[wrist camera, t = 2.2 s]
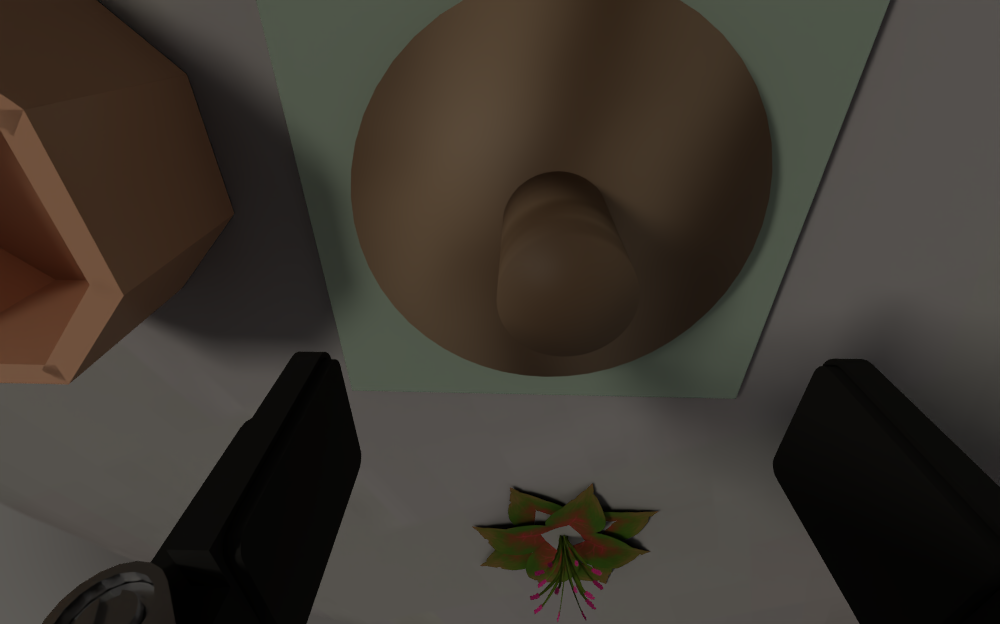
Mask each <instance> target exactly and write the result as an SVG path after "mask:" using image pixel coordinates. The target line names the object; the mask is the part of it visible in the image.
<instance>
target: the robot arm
mask: <svg viewBox="0 0 1000 624" xmlns="http://www.w3.org/2000/svg"><path fill="white" fill-rule="evenodd" d="M360 464H361V450H360V446H359V442H358V437H357V433H356V429H355V425H354V421H353V417H352V412H351V408H350V404H349V400H348V396H347V392H346V388H345V383H344V379H343V375H342V371H341V367H340V364H339V362H338V360H333V359H331V357H330V355H329V354H328V353H327V352H297V353H295V354H294V355H293V356H292V358H291V359H290V361H289V362H288V364H287V365H286V367H285V369H284V370H283V372H282V373H281V375H280V376H279V378H278V379H277V381H276V382H275V384H274V385H273V387H272V388H271V390H270V391H269V393H268V394H267V396H266V398H265V399H264V401H263V402H262V404H261V405H260V407H259V408H258V410H257V411H256V413H255V414H254V416H253V417H252V418H251V419H250V420H248V421H246V422H245V423H244V424H243V426H242V427H241V428H240V429H239V431H238V432H237V434H236V435H235V437H234V438H233V440H232V441H231V443H230V444H229V446H228V447H227V449H226V450H225V452H224V453H223V455H222V456H221V458H220V459H219V461H218V462H217V464H216V465H215V467H214V468H213V470H212V471H211V473H210V474H209V476H208V477H207V479H206V480H205V482H204V483H203V485H202V486H201V488H200V489H199V491H198V492H197V494H196V495H195V497H194V498H193V500H192V501H191V503H190V504H189V506H188V507H187V509H186V510H185V512H184V513H183V515H182V516H181V518H180V519H179V521H178V522H177V524H176V525H175V527H174V528H173V530H172V531H171V533H170V534H169V536H168V537H167V539H166V540H165V542H164V543H163V545H162V546H161V548H160V549H159V551H158V552H157V554H156V555H155V557H154V558H153V560H152V561H151V562H142V561H134V562H129V563H123V564H119V565H116V566H114V567H111V568H109V569H106V570H104V571H101V572H99V573H98V574H96V575H94V576H93V577H91V578H89V579H88V580H86V581H85V582H83V583H81V584H80V585H79V586H77V587H76V588H75V589H74V590H73V591H71V592H70V593H69V594H68V595H67V596H66V597H64V598H63V599H62V600H61V601H60V602H59V603H58V604H57V605H56V607H55V608H54V609H53V610H52V612H51V613H50V614H49V615H48V616H47V617H46V618H45V620H44V621H43V623H42V624H306V623H307V621H308V617H309V615H310V612H311V609H312V606H313V603H314V600H315V597H316V594H317V591H318V588H319V585H320V583H321V580H322V577H323V574H324V571H325V568H326V565H327V562H328V559H329V556H330V553H331V550H332V548H333V545H334V542H335V539H336V536H337V533H338V530H339V527H340V524H341V521H342V518H343V515H344V512H345V510H346V507H347V504H348V501H349V498H350V495H351V492H352V489H353V486H354V483H355V480H356V477H357V475H358V472H359V468H360ZM773 470H774V474H775V476H776V478H777V480H778V482H779V484H780V485H781V487H782V489H783V491H784V492H785V494H786V496H787V498H788V499H789V501H790V503H791V505H792V506H793V508H794V510H795V512H796V513H797V515H798V517H799V519H800V520H801V522H802V524H803V526H804V527H805V529H806V531H807V532H808V534H809V536H810V538H811V539H812V541H813V543H814V545H815V546H816V548H817V550H818V552H819V553H820V555H821V557H822V559H823V560H824V562H825V564H826V566H827V567H828V569H829V571H830V573H831V574H832V576H833V578H834V580H835V581H836V583H837V585H838V587H839V588H840V590H841V592H842V594H843V595H844V597H845V599H846V601H847V602H848V604H849V606H850V608H851V609H852V611H853V613H854V615H855V616H856V618H857V620H858V622H859V623H860V624H1000V487H999V486H998V485H997V484H996V483H995V482H994V481H993V480H992V479H991V478H990V477H989V476H988V475H987V474H985V473H984V472H983V471H982V470H981V469H980V468H979V467H978V466H977V465H976V464H975V463H974V462H973V461H972V460H971V459H970V458H969V457H968V456H967V455H966V454H965V453H964V452H963V451H962V450H961V449H960V448H959V447H957V446H956V445H955V444H954V443H953V442H952V441H951V440H950V439H949V438H948V437H947V436H946V435H945V434H944V433H943V432H942V431H941V430H940V429H939V428H938V427H937V426H936V425H935V424H934V423H933V422H932V421H930V420H929V419H928V418H927V417H926V416H925V415H924V414H923V413H922V412H921V411H920V410H919V409H918V408H917V407H916V406H915V405H914V404H913V403H912V402H911V401H910V400H909V399H908V398H907V397H906V396H905V395H904V394H902V393H901V392H900V391H899V390H898V389H897V388H896V387H895V386H894V385H893V384H892V383H891V382H890V381H889V380H888V379H887V378H886V377H885V376H884V375H883V374H882V373H881V372H880V371H879V370H878V369H877V368H875V367H874V366H873V365H872V364H871V363H870V362H868V361H867V360H863V359H830V360H828V361H826V362H825V363H824V364H823V366H821V367H818V368H817V369H816V370H815V372H814V374H813V376H812V378H811V380H810V382H809V384H808V386H807V388H806V391H805V393H804V395H803V397H802V399H801V401H800V403H799V406H798V408H797V410H796V412H795V414H794V416H793V418H792V420H791V423H790V425H789V427H788V429H787V431H786V433H785V435H784V438H783V440H782V442H781V444H780V446H779V448H778V450H777V452H776V455H775V457H774V460H773Z"/></svg>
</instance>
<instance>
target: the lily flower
mask: <svg viewBox="0 0 1000 624" xmlns="http://www.w3.org/2000/svg"><path fill="white" fill-rule="evenodd" d="M510 491H511V492H512V493H511V494H510V501H511V504H509V509H508V514H509V519H510V521H511V522H512V523H513V524H514V525H515V526H516V527H514V528H509V529H495V528H480V527H473V528H474V529H476V530H477V531H478V532H479V533H480V534H481V535H482V536H483V537H484V538H485V539H487V540H489V544H490V545H491V546H492V547H493V548H494V549H495V551H494V552H493V553H492V554H491V555H490V556H489V557H488V558H487V562H485V563H483V564H482V565H480V566H490V567H496V568H497V567H501V568H502V569H508V570H519V569H525V568H526V572H527V574H528V576H529V577H530V578H532V579H534V580H538V582H539V584H538V588H540V587H541V586H543V584H545V583H546V582H551V583H550V584H549V585H548V586H547V587H546V588H545V590H544V591H542V592H541V593H540V594H538V593H537V594H536V595H533V596H530V599H531V600H534V599H538V598H539V597H540V596H541V595H542V594H543V593H544V592H546V591H547V590H548V589H549V588H550V587H551V586H552V585H553V584H554V583H555V582H556V583H555V585H554V587H553V589H552V590H551V592H550V594H549V595H548V597H547V599H546V600H545V602H544V603H543V604H542V605H540V606H539V608H537V609H536V610H534V612H535V614H536V613H537V612H538V611H540V610H541V609H542V607H543V606H544V604H545V603H546V602H547V600H548V599H549V598H550V596H551V595H552V593H553V592H555V594H556V595H558V593H559V588H560V587H561V582H563V588H564V582H565V581H567V580H569V581H570V584H571V587H572V590H573V593H574V595H575V593H577V591H576V587H575V586H573V583H572V579H571V578H572V577H573V579H574V581H575V583H576V586H577V588H578V590H579V592H580V594H581V595H582V596H583V598H584V599H585V602H587V604H588V605H589V606H590V607H592V609H596V608H595V607H594V604H592V602H591V601H589V599H587V598H586V597H588V598H590V599H591V600H592V599H594V598H595V597H592V596H593V595H592V594H591V593H589V592H588V591H585V590H584V589H583V587H582V585H581V582H580V580H585V581H593V583H594V585H596V586H597V587H598V588H600V590H602V589H603V587H602V585H600V583H598V582H597V581H598V580H599V582H602V583H605V584H606V583H607V581H606V580H607V579H608V577H609V576H608V575H610V574H611V572H612V568H619V567H621V566H623V565H625V564H627V563H629V562H630V561H632V560H634V559H635V558H636V557H637V556H638V555H639V554H641V555H643V554H645V553H647V552H650V551H644V550H638V549H635V548H632V547H630V546H629V545H627V544H626V543H624V542H622V541H621V540H625V539H628V538H630V537H633V536H635V535H636V534H638V533H639V532H640V531H641V530H642V529H643V527H644V526H645V525H646V524H647V522H648V519H649V517H650V516H653V515H654V514H655V513H657V512H658V511H655V512H637V513H634V512H623V513H619V512H603V510H602V508H601V505H600V503H599V501H598V499H597V498H596V497H595V495H594V494H593V492H594V489H593V483H592V484H591V485H590V486H589V487H588V488H587V489H586V490H585V491H583V492H582V493H581V494H579V495H578V496H577V498H576V499H574V500H571V501H570V502H569V503H568V504H566V505H565V506H564V507H562V506H560V505H557V504H555V503H552V502H548V501H545V500H542V499H540V498H537V497H534V496H531V495H528V494H523V493H519V491H517V490H515V489H513V488H510ZM536 510H537V511H541V512H543V513H546V514H550V515H551V516H550V517H549V518H548V519H547V520H546V522H545V525H546V526H542V525H534V522H535V512H536ZM606 521H610V522H611V521H616V522H614V523H612V525H611V526H610V527H609V528H608V529H606V530H605V531H604V532H603V533H602V534H598V533H597V532H600V531H601V530H603V529H604V527H605V525H606ZM567 525H570V526H571V527H572V528H573V529H575V530H576V531H577V532H578V533H579V534H580V535H581V536H582V537H583V539H584V540H585V541H584V542H581V543H579V544H576V545H573V546H572V545H571V543H570V542H569V540H568V536H566V537H565V535H564V536H563V537H562V536H561V535H560V538H559V545H558V548H557V550H556V549H555V548H553V547H552V546H551V545H550V544H549V543H548V542H546V541H545V539H544V538H543V537H542V536H541V534H543V533H545V532H548V531H550V530H553V529H555V528H559V527H563V526H567ZM567 544H568V545H567ZM532 552H533V553H532ZM580 560H581V561H582V562H583V563H581V562H580ZM586 563H587V564H589V565H592V567H593V568H592V567H590V566H589V565H587V564H586ZM558 583H559V586H558V587H557V585H558ZM556 587H557V588H556ZM555 588H556V589H555ZM554 590H555V591H554ZM583 592H584V593H583ZM584 595H586V597H585V596H584ZM562 596H563V589H562ZM575 598H576V595H575ZM576 600H577V598H576ZM561 602H562V597H561ZM577 603H578V600H577ZM578 605H579V603H578ZM579 608H580V606H579ZM560 609H561V605H560ZM580 610H581V608H580ZM581 612H582V615H583V617H584V619H585V620H586V617H585V616H584V614H583V611H581ZM559 616H560V611H559V615H558V618H557V622H558V619H559Z"/></svg>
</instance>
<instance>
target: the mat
mask: <svg viewBox="0 0 1000 624" xmlns="http://www.w3.org/2000/svg"><path fill="white" fill-rule="evenodd" d="M461 1H463V0H256V2H257V6H258V10H259V14H260V18H261V22H262V26H263V30H264V34H265V38H266V42H267V46H268V50H269V54H270V59H271V63H272V67H273V71H274V75H275V79H276V83H277V87H278V91H279V95H280V99H281V103H282V107H283V111H284V115H285V119H286V123H287V127H288V132H289V136H290V140H291V144H292V148H293V152H294V156H295V160H296V164H297V168H298V172H299V176H300V180H301V184H302V188H303V192H304V196H305V200H306V205H307V209H308V213H309V217H310V221H311V225H312V229H313V233H314V237H315V241H316V245H317V249H318V253H319V257H320V261H321V265H322V269H323V274H324V278H325V282H326V286H327V290H328V294H329V298H330V302H331V306H332V310H333V314H334V318H335V322H336V326H337V330H338V334H339V338H340V342H341V347H342V351H343V355H344V359H345V363H346V367H347V371H348V375H349V379H350V383H351V387H352V390H355V391H402V392H449V393H496V394H542V395H589V396H636V397H682V398H729V399H736V397H737V394H738V392H739V389H740V386H741V384H742V381H743V379H744V376H745V373H746V371H747V368H748V366H749V363H750V361H751V358H752V355H753V353H754V350H755V348H756V345H757V343H758V340H759V337H760V335H761V332H762V330H763V327H764V324H765V322H766V319H767V317H768V314H769V312H770V309H771V306H772V304H773V301H774V299H775V296H776V293H777V291H778V288H779V286H780V283H781V281H782V278H783V275H784V273H785V270H786V268H787V265H788V263H789V260H790V257H791V255H792V252H793V250H794V247H795V244H796V242H797V239H798V237H799V234H800V232H801V229H802V226H803V224H804V221H805V219H806V216H807V213H808V211H809V208H810V206H811V203H812V201H813V198H814V195H815V193H816V190H817V188H818V185H819V183H820V180H821V177H822V175H823V172H824V170H825V167H826V164H827V162H828V159H829V157H830V154H831V152H832V149H833V146H834V144H835V141H836V139H837V136H838V133H839V131H840V128H841V126H842V123H843V121H844V118H845V115H846V113H847V110H848V108H849V105H850V103H851V100H852V97H853V95H854V92H855V90H856V87H857V84H858V82H859V79H860V77H861V74H862V72H863V69H864V66H865V64H866V61H867V59H868V56H869V53H870V51H871V48H872V46H873V43H874V41H875V38H876V35H877V33H878V30H879V28H880V25H881V23H882V20H883V17H884V15H885V12H886V10H887V7H888V4H889V2H890V0H680V1H682V2H683V3H685V4H687V5H688V6H690V7H691V8H693V9H694V10H696V11H697V12H699V13H700V14H701V15H702V16H703V17H705V18H706V19H707V20H708V21H709V22H710V23H711V24H712V25H713V26H714V27H715V28H717V29H718V30H719V31H720V32H721V33H722V34H723V35H724V36H725V38H726V39H727V40H728V41H729V43H730V44H731V45H732V47H733V48H734V49H735V51H736V52H737V53H738V54H739V56H740V57H741V58H742V60H743V61H744V63H745V65H746V67H747V69H748V71H749V73H750V74H751V76H752V78H753V80H754V82H755V84H756V86H757V88H758V91H759V94H760V97H761V100H762V103H763V105H764V108H765V111H766V114H767V119H768V125H769V131H770V136H771V142H772V180H771V188H770V197H769V202H768V206H767V210H766V214H765V217H764V221H763V225H762V228H761V230H760V233H759V235H758V238H757V240H756V243H755V245H754V248H753V250H752V252H751V254H750V255H749V257H748V259H747V261H746V263H745V264H744V266H743V268H742V270H741V272H740V273H739V275H738V276H737V277H736V279H735V280H734V282H733V283H732V284H731V286H730V287H729V289H728V290H727V291H726V293H725V294H724V295H723V296H722V297H721V298H720V299H719V300H718V302H717V303H716V304H715V305H714V306H713V307H712V308H711V309H710V310H709V311H708V312H707V313H706V314H705V315H704V316H703V317H702V318H701V319H699V320H698V321H697V322H696V323H695V324H694V325H693V326H692V327H690V328H689V329H688V330H686V331H685V332H683V333H682V334H681V335H679V336H678V337H676V338H675V339H674V340H672V341H671V342H669V343H667V344H665V345H664V346H662V347H660V348H658V349H657V350H655V351H653V352H651V353H649V354H647V355H645V356H642V357H640V358H638V359H636V360H633V361H631V362H628V363H625V364H622V365H619V366H616V367H613V368H610V369H606V370H602V371H597V372H593V373H589V374H581V375H573V376H560V377H539V376H525V375H518V374H513V373H507V372H502V371H498V370H494V369H491V368H487V367H484V366H481V365H478V364H476V363H473V362H471V361H468V360H465V359H463V358H461V357H459V356H457V355H455V354H453V353H451V352H449V351H448V350H446V349H444V348H442V347H441V346H439V345H438V344H436V343H435V342H433V341H432V340H430V339H429V338H427V337H426V336H425V335H423V334H422V333H421V332H420V331H419V330H417V329H416V328H415V327H414V326H413V325H412V324H410V323H409V322H408V321H407V320H406V319H405V317H404V316H403V315H402V314H401V313H400V312H399V311H398V310H397V309H396V308H395V307H394V306H393V304H392V303H391V302H390V300H389V299H388V297H387V296H386V295H385V293H384V292H383V291H382V289H381V288H380V286H379V284H378V283H377V281H376V279H375V277H374V276H373V274H372V272H371V270H370V268H369V266H368V264H367V261H366V259H365V256H364V254H363V251H362V249H361V246H360V243H359V239H358V235H357V232H356V228H355V224H354V218H353V210H352V202H351V167H352V160H353V153H354V147H355V141H356V138H357V135H358V131H359V128H360V124H361V121H362V118H363V114H364V112H365V110H366V108H367V106H368V104H369V101H370V99H371V97H372V95H373V93H374V90H375V88H376V86H377V85H378V83H379V82H380V80H381V79H382V77H383V76H384V74H385V72H386V71H387V69H388V68H389V66H390V65H391V63H392V62H393V60H394V59H395V58H396V57H397V56H398V55H399V53H400V52H401V51H402V50H403V49H404V48H405V47H406V45H407V44H408V43H409V42H410V41H411V40H412V39H413V37H414V36H416V35H417V34H418V33H419V32H420V31H421V30H423V29H424V28H425V27H426V26H427V25H428V24H430V23H431V22H432V21H433V20H434V19H435V18H437V17H438V16H439V15H440V14H442V13H443V12H445V11H447V10H448V9H450V8H451V7H453V6H455V5H456V4H458V3H460V2H461Z"/></svg>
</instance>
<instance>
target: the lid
mask: <svg viewBox="0 0 1000 624" xmlns="http://www.w3.org/2000/svg"><path fill="white" fill-rule="evenodd" d="M771 180H772V142H771V136H770V131H769V125H768V119H767V114H766V111H765V108H764V105H763V103H762V100H761V97H760V94H759V91H758V88H757V86H756V84H755V82H754V80H753V78H752V76H751V74H750V73H749V71H748V69H747V67H746V65H745V63H744V61H743V60H742V58H741V57H740V56H739V54H738V53H737V52H736V51H735V49H734V48H733V47H732V45H731V44H730V43H729V41H728V40H727V39H726V38H725V36H724V35H723V34H722V33H721V32H720V31H719V30H718V29H717V28H715V27H714V26H713V25H712V24H711V23H710V22H709V21H708V20H707V19H706V18H705V17H703V16H702V15H701V14H700V13H699V12H697V11H696V10H694V9H693V8H691V7H690V6H688V5H687V4H685V3H683V2H682V1H680V0H463V1H461V2H460V3H458V4H456V5H455V6H453V7H451V8H450V9H448V10H447V11H445V12H443V13H442V14H440V15H439V16H438V17H437V18H435V19H434V20H433V21H432V22H431V23H430V24H428V25H427V26H426V27H425V28H424V29H423V30H421V31H420V32H419V33H418V34H417V35H416V36H414V37H413V39H412V40H411V41H410V42H409V43H408V44H407V45H406V47H405V48H404V49H403V50H402V51H401V52H400V53H399V55H398V56H397V57H396V58H395V59H394V60H393V62H392V63H391V65H390V66H389V68H388V69H387V71H386V72H385V74H384V76H383V77H382V79H381V80H380V82H379V83H378V85H377V86H376V88H375V90H374V93H373V95H372V97H371V99H370V101H369V104H368V106H367V108H366V110H365V112H364V114H363V118H362V121H361V124H360V128H359V131H358V135H357V138H356V141H355V147H354V153H353V160H352V167H351V202H352V210H353V218H354V224H355V228H356V232H357V235H358V239H359V243H360V246H361V249H362V251H363V254H364V256H365V259H366V261H367V264H368V266H369V268H370V270H371V272H372V274H373V276H374V277H375V279H376V281H377V283H378V284H379V286H380V288H381V289H382V291H383V292H384V293H385V295H386V296H387V297H388V299H389V300H390V302H391V303H392V304H393V306H394V307H395V308H396V309H397V310H398V311H399V312H400V313H401V314H402V315H403V316H404V317H405V319H406V320H407V321H408V322H409V323H410V324H412V325H413V326H414V327H415V328H416V329H417V330H419V331H420V332H421V333H422V334H423V335H425V336H426V337H427V338H429V339H430V340H432V341H433V342H435V343H436V344H438V345H439V346H441V347H442V348H444V349H446V350H448V351H449V352H451V353H453V354H455V355H457V356H459V357H461V358H463V359H465V360H468V361H471V362H473V363H476V364H478V365H481V366H484V367H487V368H491V369H494V370H498V371H502V372H507V373H513V374H518V375H525V376H539V377H560V376H573V375H581V374H589V373H593V372H597V371H602V370H606V369H610V368H613V367H616V366H619V365H622V364H625V363H628V362H631V361H633V360H636V359H638V358H640V357H642V356H645V355H647V354H649V353H651V352H653V351H655V350H657V349H658V348H660V347H662V346H664V345H665V344H667V343H669V342H671V341H672V340H674V339H675V338H676V337H678V336H679V335H681V334H682V333H683V332H685V331H686V330H688V329H689V328H690V327H692V326H693V325H694V324H695V323H696V322H697V321H698V320H699V319H701V318H702V317H703V316H704V315H705V314H706V313H707V312H708V311H709V310H710V309H711V308H712V307H713V306H714V305H715V304H716V303H717V302H718V300H719V299H720V298H721V297H722V296H723V295H724V294H725V293H726V291H727V290H728V289H729V287H730V286H731V284H732V283H733V282H734V280H735V279H736V277H737V276H738V275H739V273H740V272H741V270H742V268H743V266H744V264H745V263H746V261H747V259H748V257H749V255H750V254H751V252H752V250H753V248H754V245H755V243H756V240H757V238H758V235H759V233H760V230H761V228H762V225H763V221H764V217H765V214H766V210H767V206H768V202H769V197H770V188H771Z"/></svg>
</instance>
